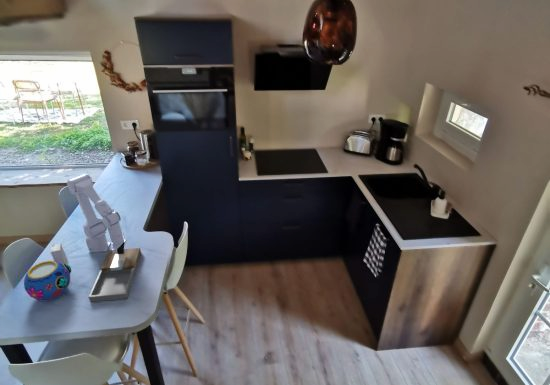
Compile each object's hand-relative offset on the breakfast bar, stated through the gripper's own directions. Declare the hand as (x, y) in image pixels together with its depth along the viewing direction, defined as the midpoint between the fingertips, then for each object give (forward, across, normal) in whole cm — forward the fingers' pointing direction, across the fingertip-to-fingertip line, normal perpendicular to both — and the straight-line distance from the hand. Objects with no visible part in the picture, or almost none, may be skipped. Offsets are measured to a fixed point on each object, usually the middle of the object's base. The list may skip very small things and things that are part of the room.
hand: (121, 254), depth 173 cm
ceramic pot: (+5, -19, +27) cm, 33 cm away
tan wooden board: (+5, -2, 0) cm, 5 cm away
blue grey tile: (+1, -8, 0) cm, 9 cm away
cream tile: (+1, -4, 0) cm, 4 cm away
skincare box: (+5, 0, +30) cm, 30 cm away
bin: (+5, -18, 0) cm, 18 cm away
